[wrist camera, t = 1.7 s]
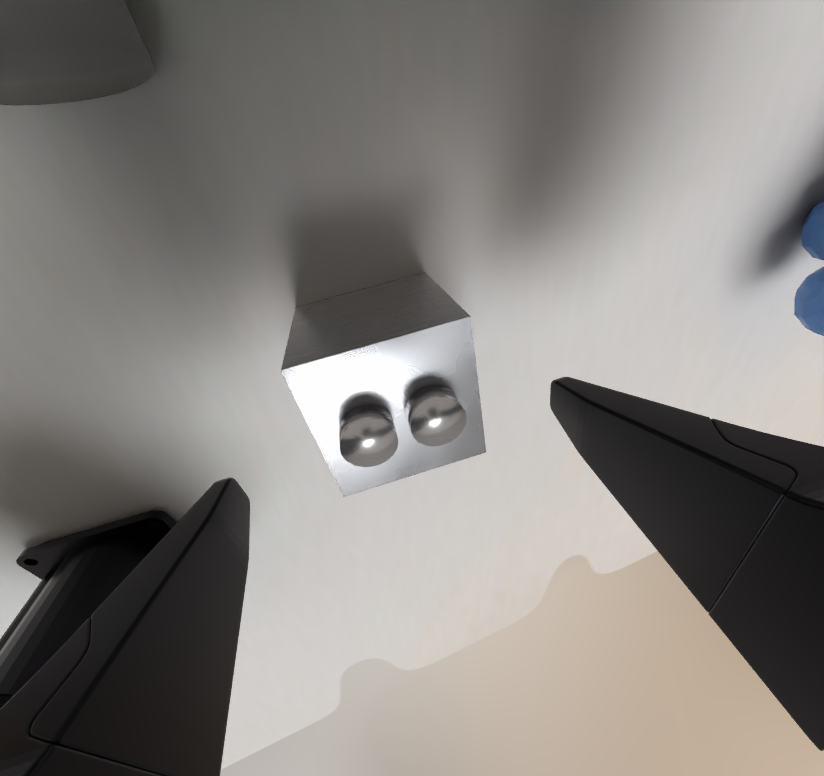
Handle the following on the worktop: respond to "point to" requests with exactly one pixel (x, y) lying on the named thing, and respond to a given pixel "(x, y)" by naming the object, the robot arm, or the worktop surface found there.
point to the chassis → (68, 51)
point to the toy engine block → (386, 381)
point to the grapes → (820, 292)
